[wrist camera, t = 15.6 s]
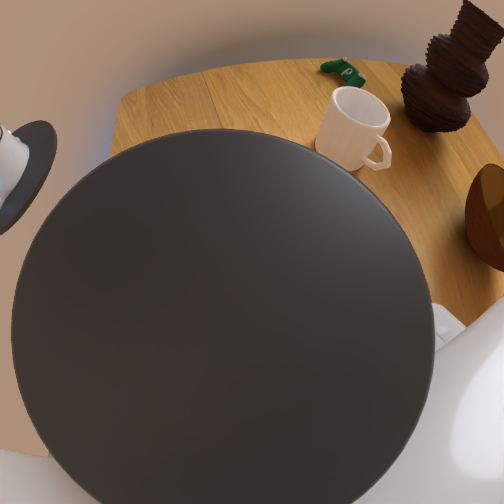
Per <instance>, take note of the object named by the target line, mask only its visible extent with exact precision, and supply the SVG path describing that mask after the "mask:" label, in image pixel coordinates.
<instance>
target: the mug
mask: <svg viewBox="0 0 504 504" xmlns="http://www.w3.org/2000/svg"><path fill="white" fill-rule="evenodd" d="M390 120H391V119H390V113H389V111H388V110H387V108H386V106H385V105H384V104H383V103H382V101H381V100H379V99H378V98H377V97H376V96H374V95H373V94H371V93H369V92H368V91H366V90H363V89H360V88H357V87H351V86H346V87H339V88H337V89H335V90H334V92H333V93H332V95H331V98H330V101H329V103H328V106H327V109H326V112H325V115H324V117H323V120H322V123H321V126H320V129H319V131H318V134H317V137H316V141H315V147H316V151H317V153H319V154H321V155H323V156H325V157H327V158H329V159H330V160H332V161H334V162H335V163H337V164H338V165H340V166H341V167H343V168H344V169H346V170H347V171H349V172H351V171H355V170H358V169H359V168H360V167H362V166H363V165H364V164H365V165H366V166H368V167H369V168H371V169H372V170H374V171H376V170H381V169H385V168H389V167H390V166H391V157H392V152H391V149H390V147H389V144H388V142H387V141H386V140H385V139H384V138H383V137H382V135H383V133H384V132H385V130H386V129H387V127H388V125H389V123H390ZM377 143H379V144H380V146H381V149H382V151H383V162H380V163H375V162H373V161H372V160H370V159H369V158H368V157H369V155H370V154H371V152H372V151H373V149H374V148H375V146H376V144H377Z"/></svg>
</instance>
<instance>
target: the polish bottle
mask: <svg viewBox="0 0 504 504" xmlns="http://www.w3.org/2000/svg"><path fill="white" fill-rule="evenodd" d="M11 341H12V342H11V343H12V354H13V363H14V369H15V373H16V378H17V382H18V387H19V390H20V393H21V396H22V399H23V402H24V405H25V407H26V410H27V413H28V415H29V417H30V419H31V421H32V423H33V425H34V427H35V429H36V431H37V433H38V435H39V436H40V438H41V440H42V441H43V443H44V444H45V446H46V447H47V449H48V450H49V452H50V453H51V455H52V456H53V458H54V459H55V460H56V461H57V463H58V464H59V465H60V466H61V467H62V468H63V470H64V471H65V472H66V473H67V474H68V475H69V476H70V477H71V478H72V480H73V481H75V482H76V483H77V484H78V485H79V486H80V487H81V488H82V489H83V490H85V491H86V492H87V493H88V494H89V495H90V496H92V497H93V498H94V499H95V500H97V501H98V502H100V503H101V504H352V503H354V502H355V501H356V500H358V499H359V498H360V497H362V496H363V495H364V494H365V493H366V492H367V491H368V490H370V489H371V488H372V487H373V486H374V485H375V484H376V483H377V482H378V481H379V480H380V479H381V478H382V477H383V476H384V475H385V473H386V472H387V471H388V470H389V468H390V467H391V466H392V465H393V463H394V462H395V461H396V459H397V458H398V457H399V455H400V454H401V453H402V451H403V450H404V448H405V446H406V444H407V443H408V441H409V439H410V437H411V436H412V434H413V432H414V430H415V428H416V426H417V424H418V421H419V419H420V416H421V414H422V411H423V409H424V406H425V403H426V400H427V397H428V393H429V389H430V384H431V380H432V375H433V369H434V358H435V344H436V341H435V323H434V312H433V307H432V302H431V297H430V292H429V288H428V284H427V281H426V278H425V275H424V272H423V270H422V267H421V264H420V261H419V259H418V257H417V255H416V253H415V251H414V249H413V247H412V245H411V243H410V241H409V239H408V237H407V235H406V234H405V232H404V231H403V229H402V228H401V226H400V225H399V223H398V222H397V220H396V219H395V218H394V216H393V215H392V213H391V212H390V211H389V210H388V208H387V207H386V206H385V205H384V204H383V203H382V202H381V201H380V200H379V198H378V197H377V196H376V195H375V194H374V193H373V192H372V191H371V190H370V189H369V188H368V187H367V186H366V185H364V184H363V183H362V182H361V181H360V180H358V179H357V178H356V177H355V176H354V175H353V174H351V173H350V172H349V171H347V170H346V169H344V168H343V167H341V166H340V165H338V164H337V163H335V162H334V161H332V160H330V159H329V158H327V157H325V156H323V155H321V154H319V153H317V152H315V151H313V150H311V149H309V148H307V147H305V146H303V145H300V144H297V143H295V142H292V141H289V140H286V139H283V138H280V137H277V136H273V135H268V134H263V133H258V132H253V131H247V130H235V129H200V130H191V131H185V132H179V133H173V134H169V135H165V136H162V137H158V138H155V139H152V140H148V141H145V142H143V143H141V144H138V145H136V146H134V147H131V148H129V149H127V150H124V151H122V152H121V153H119V154H117V155H115V156H114V157H112V158H110V159H108V160H107V161H105V162H103V163H102V164H100V165H99V166H98V167H96V168H95V169H94V170H92V171H91V172H90V173H88V174H87V175H86V176H84V177H83V178H82V179H81V180H80V181H79V182H77V184H75V186H73V187H72V188H71V189H70V190H69V191H68V193H66V194H65V195H64V196H63V197H62V199H61V200H60V201H59V203H58V204H57V205H56V206H55V207H54V209H53V210H52V211H51V213H50V214H49V215H48V216H47V218H46V219H45V221H44V223H43V224H42V226H41V228H40V229H39V231H38V233H37V234H36V236H35V238H34V240H33V242H32V244H31V246H30V248H29V250H28V253H27V255H26V257H25V260H24V262H23V266H22V269H21V272H20V275H19V278H18V282H17V286H16V290H15V296H14V302H13V309H12V322H11Z"/></svg>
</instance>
